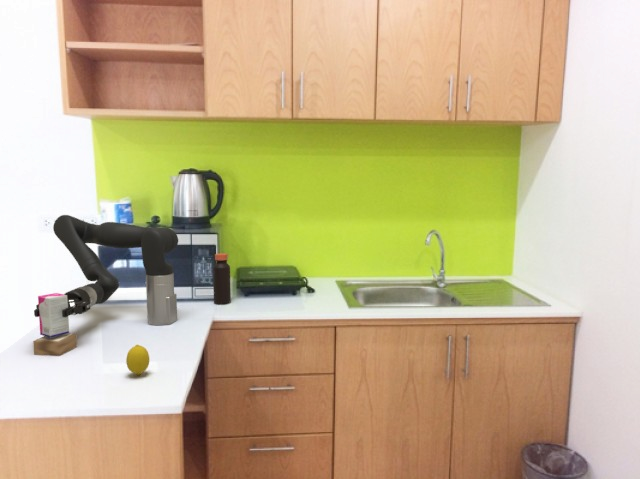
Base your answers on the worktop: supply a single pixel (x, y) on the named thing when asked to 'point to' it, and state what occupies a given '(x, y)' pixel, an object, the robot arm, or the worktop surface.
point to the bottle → (221, 280)
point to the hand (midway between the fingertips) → (49, 313)
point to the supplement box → (53, 315)
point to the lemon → (137, 359)
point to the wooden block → (55, 345)
